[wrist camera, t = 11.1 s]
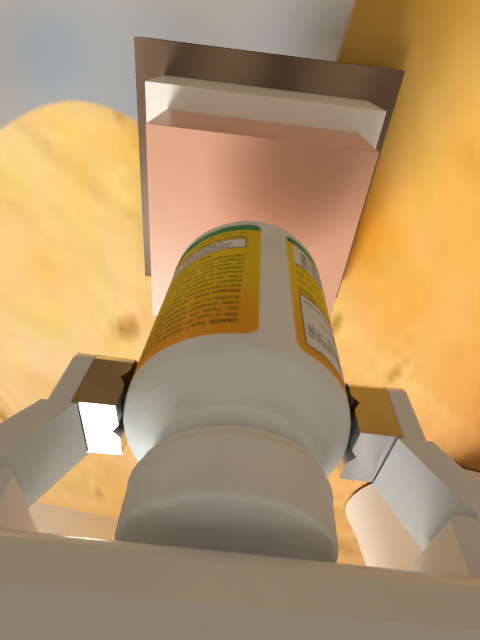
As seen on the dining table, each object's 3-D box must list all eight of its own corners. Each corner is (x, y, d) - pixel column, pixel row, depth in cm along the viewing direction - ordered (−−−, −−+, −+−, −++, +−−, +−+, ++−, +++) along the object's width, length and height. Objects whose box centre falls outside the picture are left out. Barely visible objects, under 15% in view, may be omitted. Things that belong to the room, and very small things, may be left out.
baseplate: (396, 69, 21) (404, 71, 20) (333, 287, 29) (336, 298, 28) (141, 37, 21) (134, 36, 20) (150, 266, 29) (145, 275, 28)
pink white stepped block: (367, 100, 21) (414, 127, 14) (320, 277, 27) (338, 351, 21) (163, 75, 20) (117, 89, 14) (165, 259, 27) (134, 328, 20)
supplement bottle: (344, 246, 13) (456, 524, 6) (282, 353, 17) (302, 630, 9) (197, 191, 13) (94, 434, 5) (161, 315, 16) (62, 586, 8)
